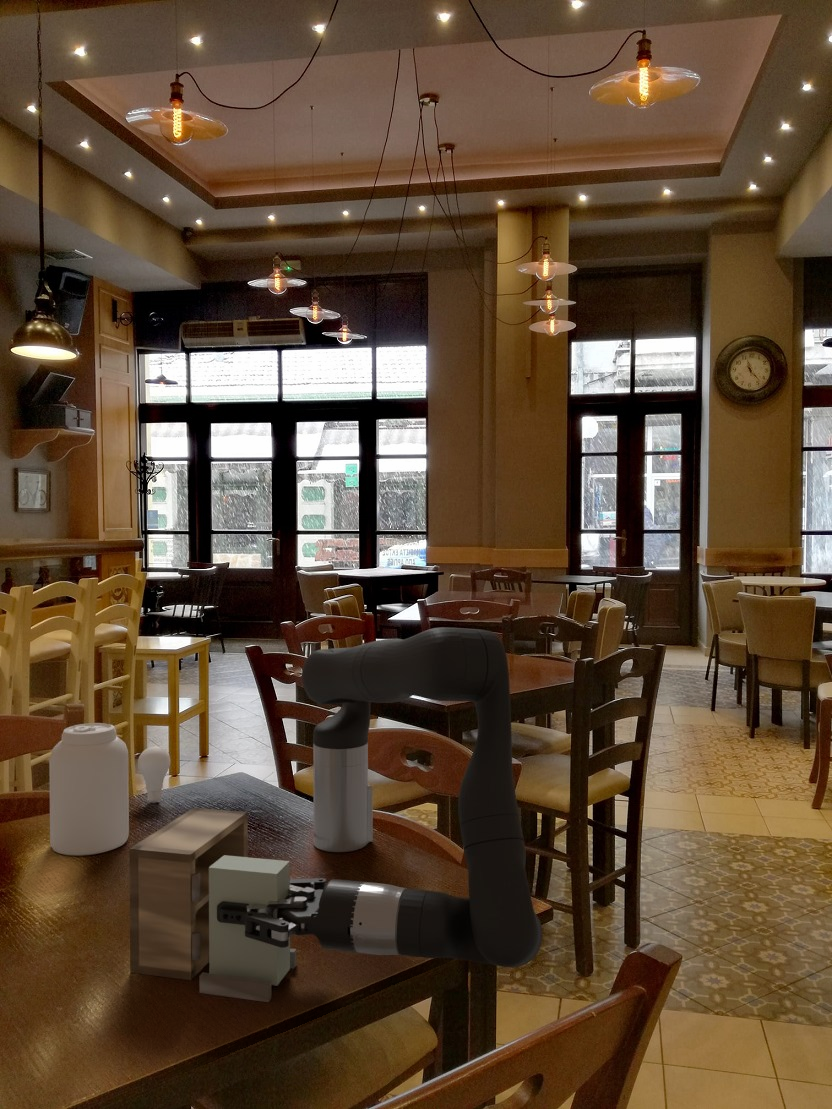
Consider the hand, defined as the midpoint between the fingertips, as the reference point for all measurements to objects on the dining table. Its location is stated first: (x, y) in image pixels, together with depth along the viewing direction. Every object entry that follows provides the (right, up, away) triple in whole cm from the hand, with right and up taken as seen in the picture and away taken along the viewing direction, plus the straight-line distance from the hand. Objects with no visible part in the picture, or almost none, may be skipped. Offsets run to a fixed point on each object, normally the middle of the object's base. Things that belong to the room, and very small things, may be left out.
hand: (228, 902), depth 104 cm
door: (+3, -8, 0) cm, 9 cm away
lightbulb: (-29, -7, +67) cm, 73 cm away
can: (-33, -8, +44) cm, 56 cm away
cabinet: (-1, -9, +5) cm, 10 cm away
